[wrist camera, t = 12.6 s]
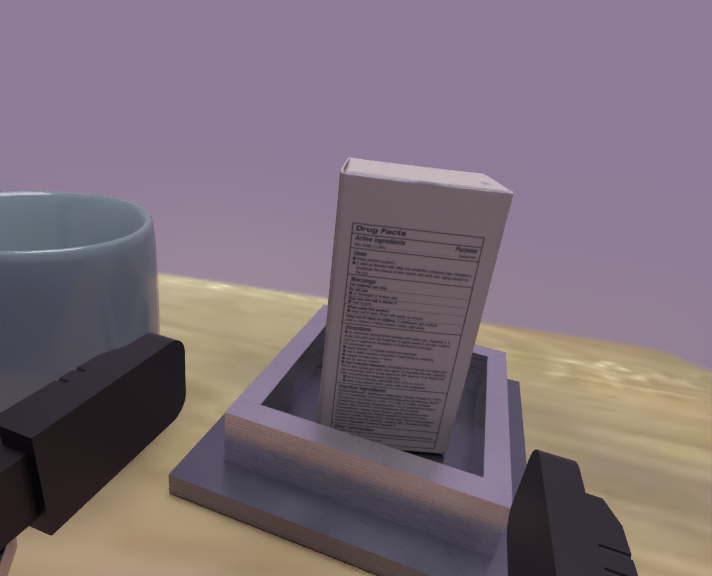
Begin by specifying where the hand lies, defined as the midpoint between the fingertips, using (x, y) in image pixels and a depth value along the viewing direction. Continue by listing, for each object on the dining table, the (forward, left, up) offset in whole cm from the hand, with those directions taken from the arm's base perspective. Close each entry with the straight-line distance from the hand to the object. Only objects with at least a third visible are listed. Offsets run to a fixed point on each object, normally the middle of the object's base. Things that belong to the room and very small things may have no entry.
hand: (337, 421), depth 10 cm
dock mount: (0, +10, -9) cm, 13 cm away
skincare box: (0, +10, -8) cm, 13 cm away
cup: (-13, +4, -9) cm, 16 cm away
